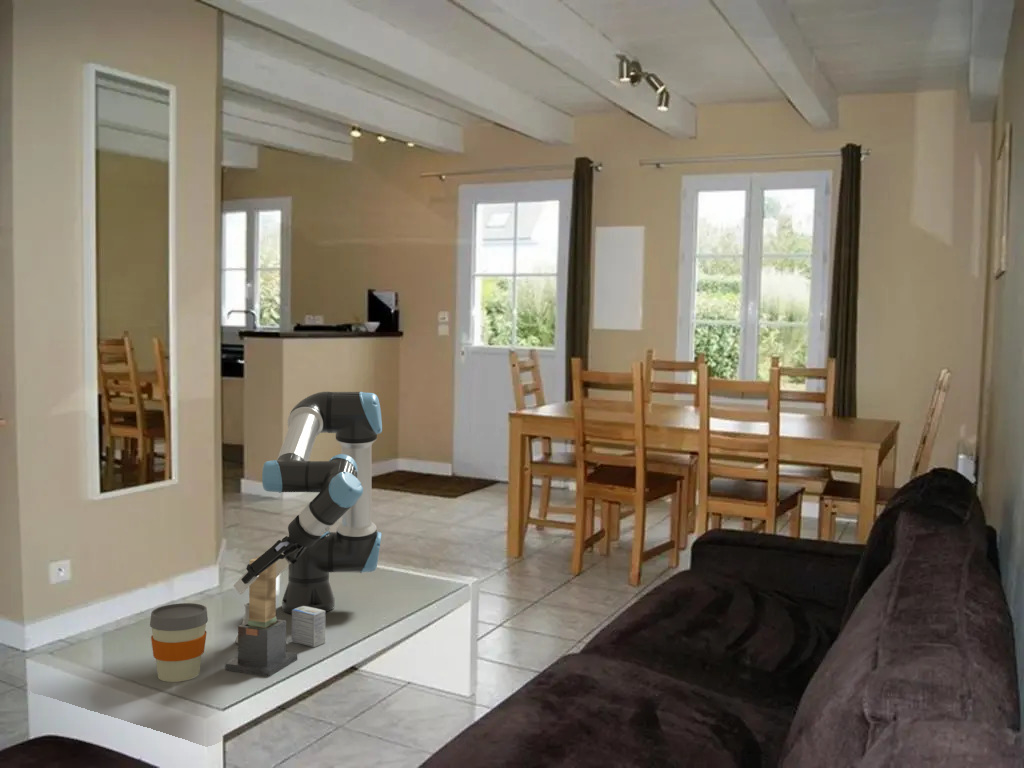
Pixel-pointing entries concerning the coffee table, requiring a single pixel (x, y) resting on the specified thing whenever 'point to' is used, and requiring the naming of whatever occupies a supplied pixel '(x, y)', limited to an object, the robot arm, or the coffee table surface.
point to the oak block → (263, 598)
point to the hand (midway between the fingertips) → (254, 582)
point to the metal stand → (261, 650)
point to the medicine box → (308, 626)
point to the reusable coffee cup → (178, 640)
